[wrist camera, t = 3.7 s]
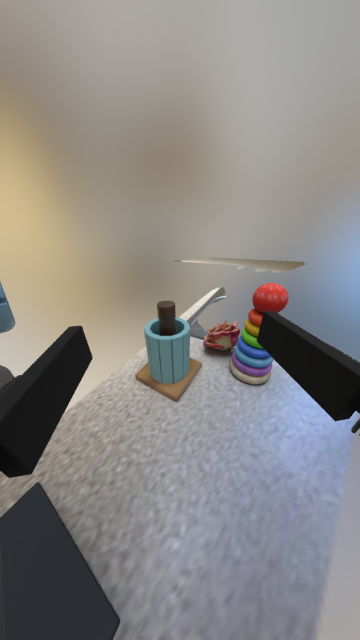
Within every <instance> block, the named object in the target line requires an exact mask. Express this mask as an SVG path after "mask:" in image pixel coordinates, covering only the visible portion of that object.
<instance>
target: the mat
mask: <svg viewBox="0 0 360 640" xmlns="http://www.w3.org/2000/svg"><path fill="white" fill-rule="evenodd" d="M0 551H1V569H2V586H3V604H4V622H5V640H112V639H113V637H114V634H115V632H116V630H117V628H118V625H119V623H120V619H119V617H118V615H117V614H116V612H115V610H114V609H113V607H112V605H111V603H110V602H109V600H108V598H107V597H106V595H105V593H104V592H103V590H102V588H101V586H100V585H99V583H98V581H97V580H96V578H95V576H94V575H93V573H92V571H91V569H90V568H89V566H88V564H87V563H86V561H85V559H84V558H83V556H82V554H81V552H80V551H79V549H78V547H77V546H76V544H75V542H74V540H73V539H72V537H71V535H70V534H69V532H68V530H67V529H66V527H65V525H64V523H63V522H62V520H61V518H60V517H59V515H58V513H57V512H56V510H55V508H54V506H53V505H52V503H51V501H50V500H49V498H48V496H47V495H46V493H45V491H44V489H43V488H42V486H41V484H40V483H39V482H37V483H36V484H35V485H34V486H33V487H32V488H31V489H30V490H29V491H28V492H26V493H25V494H24V495H23V496H22V497H21V498H20V499H19V500H18V501H17V502H16V503H15V504H14V505H13V506H12V507H11V508H10V509H9V510H8V511H7V512H6V513H5V514H4V515H3V516H2V517H1V518H0Z"/></svg>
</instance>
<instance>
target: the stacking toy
mask: <svg viewBox="0 0 360 640" xmlns="http://www.w3.org/2000/svg"><path fill="white" fill-rule="evenodd" d="M287 302H288V293H287V291H286V290H285V288H283V287H282V286H281V285H278V284H274V283H268V284H264V285H262V286H261V287H259V288H258V289H257V290H256V291H255V293H254V295H253V305H254V307H255V308H254V309H252V310H251V311H250V312H249V314H248V316H249V319H248V320H247V321H246V322H245V328H244V329H243V331H242V336H240V337H239V339H238V344H237V345H236V347H235V351H234V352H233V354H232V358H231V360H230V369H231V371H232V373H233V374H234V375H235V376H236V377H237V378H239V379H240V380H242V381H244V382H246V383H250V384H262V383H264V382H266V381H267V380H268V379H269V377H270V370H271V368H272V362H273V358H272V357H271V356H270V355H269V354H268V353H267V352H266V351H265V350H264V349H263V348H262V347H261V346H260V345H259V344H258V343H257V342H256V340H257V336H258V332H259V328H260V324H261V320H262V316H263V312H265V311H274V312H276V313H277V314H278V312H280V311H281V310H283V309H284V308H285V306H286V305H287Z"/></svg>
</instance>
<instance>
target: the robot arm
mask: <svg viewBox="0 0 360 640" xmlns="http://www.w3.org/2000/svg"><path fill="white" fill-rule="evenodd" d="M14 326H15V319H14V317H13V314H12V311H11V309H10V306H9V303H8V301H7V298H6V295H5V293H4V290H3V288H2V285H1V283H0V333H3V332H7V331H9V330H11V329H12V328H13V327H14ZM256 342H257V343H258V344H259V345H260V346H261V347H262V348H263V349H264V350H265V351H266V352H267V353H268V354H269V355H270V356H271V357H272V358H273V359H274V360H275V361H276V362H277V363H278V364H279V365H280V366H281V367H282V368H283V369H284V370H285V371H286V372H287V373H288V374H289V375H290V376H291V377H292V378H293V379H294V380H295V381H296V382H297V383H298V384H299V385H300V386H301V387H302V388H303V389H304V390H305V391H306V392H307V393H308V394H309V395H310V396H311V397H312V398H313V399H314V400H315V401H316V402H317V403H318V404H319V405H320V406H321V407H322V408H323V409H324V410H325V411H326V412H327V413H328V414H329V415H330V416H331V417H332V418H333V419H334V420H335V421H339V420H345V419H349V418H350V417H351V416H352V415H353V413H354V412H355V411H357V412H358V413H360V363H359V362H358V361H356V360H354V359H352V358H351V357H350V356H348V355H346V354H344V353H343V352H341V351H340V350H338V349H336V348H335V347H332V346H330V345H328V344H326V343H325V342H323V341H321V340H320V339H318V338H317V337H315V336H313V335H312V334H310V333H308V332H307V331H305V330H303V329H302V328H300V327H299V326H297V325H295V324H293V323H292V322H290V321H289V320H287V319H285V318H284V317H282V316H281V315H279V314H277V313H276V312H274V311H265V312H263V316H262V320H261V324H260V328H259V332H258V336H257V340H256ZM91 360H92V354H91V352H90V349H89V346H88V343H87V340H86V337H85V334H84V331H83V328H82V326H72V327H69V328H68V329H67V330H66V331H65V332H64V333H63V334H62V335H61V336H60V337H59V338H58V339H57V340H56V341H55V342H54V343H53V344H52V345H51V346H50V347H49V348H48V349H47V350H46V351H45V352H44V353H43V354H42V355H41V356H40V357H39V358H38V359H37V361H35V362H34V363H33V364H32V365H31V366H30V368H28V370H27V371H25V373H24V374H23V375H19V376H17V377H15V378H14V379H12V380H11V381H9V382H8V383H6V384H5V385H4V386H3V387H2V388H1V389H0V471H1V472H3V473H4V474H5V475H6V476H7V477H9V478H12V477H17V476H23V475H29V474H32V472H33V470H34V469H35V467H36V465H37V463H38V461H39V459H40V457H41V455H42V453H43V451H44V450H45V448H46V446H47V444H48V442H49V440H50V438H51V436H52V434H53V432H54V431H55V429H56V427H57V425H58V423H59V421H60V419H61V417H62V415H63V413H64V412H65V410H66V408H67V406H68V404H69V402H70V400H71V398H72V396H73V394H74V392H75V391H76V389H77V386H78V385H79V383H80V381H81V379H82V377H83V375H84V373H85V371H86V370H87V368H88V366H89V364H90V362H91ZM359 428H360V419H359V420H358V421H357V422H356V423H355V425H354V426H353V427H352V432H353V433H356V431H357V430H358V429H359ZM359 435H360V434H359ZM0 640H5V622H4V604H3V586H2V569H1V551H0Z"/></svg>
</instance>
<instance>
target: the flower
mask: <svg viewBox="0 0 360 640" xmlns="http://www.w3.org/2000/svg"><path fill="white" fill-rule="evenodd" d="M237 326H238V323H237V322H236V321H235V322H234V323H232V324H231V323H227V324H226V321H225V322H224V323H220V324H217V325H216V326H213V327H212V328H210V329H208V331H210V332H211V333H208V335H205V336H204V339H205V341H206V340H208V341H210V342H211V343H208V342H205V341H204V346H209V348H210V347H211V348H214V349H220V350H222V351H223V350H226V349H227V351H228V353H229V355H230V354H232V352H231V350H230V348H231V347H234V346H235V345H236V344H237V342H238V336H239V333H240V329H238V328H235V327H237ZM208 331H207V332H208Z"/></svg>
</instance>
